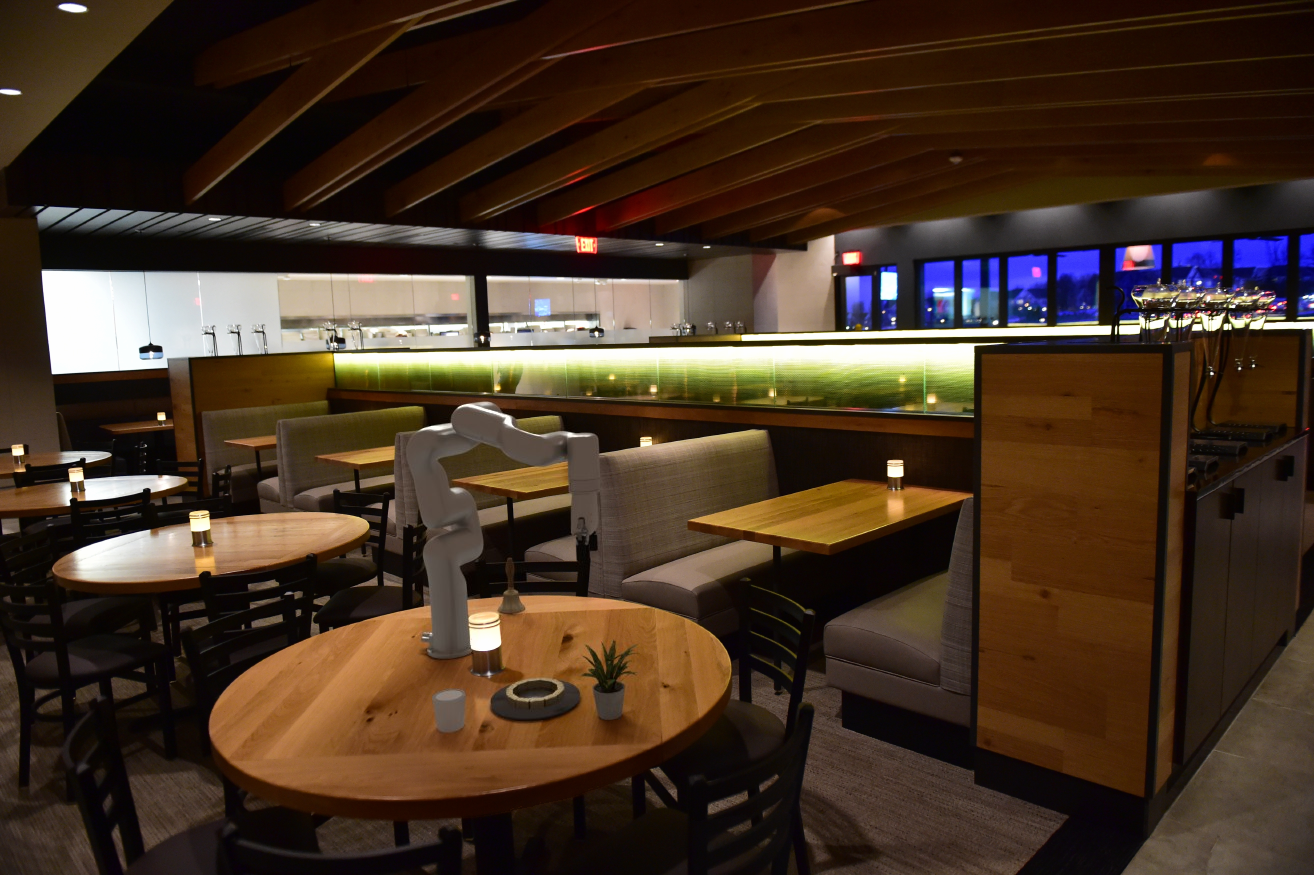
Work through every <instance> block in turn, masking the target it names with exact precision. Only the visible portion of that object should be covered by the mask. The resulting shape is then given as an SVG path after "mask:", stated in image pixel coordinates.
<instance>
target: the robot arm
mask: <svg viewBox="0 0 1314 875" xmlns="http://www.w3.org/2000/svg"><path fill="white" fill-rule="evenodd" d="M482 443H483V444H486V445H489V446H492V447H495V448H497V449H500V450H501V452H503V454H505V456H507V457H508V458H510V459H512V460H514V461H517V462H520V463H522V464H523V463H524V464H527V465H529V466H532V467H536V468H537V467H538V468H546V467H549V466H550V467H551V466H552V465H557V464H561V463H565V462H567V478H568V482H567V483H568V493H569V494H571V500H570V501H571V502H570V504H571V505H570V506H571V507H570V529H571V530H570V533H571V535H572V536H575V535H576V537H575V560H576V562H577V563H580V562H581V563H582V562H586V563H588V562H590V561H591V552H597V551H598V550H599V543H598V529H597V528H598V526H599V511H598V510H599V508H598V495H597V493H599V492H601V475H600V474H601V473H600V472H601V470H600V469H601V468H600V446H599V445H600V444H599V437H598V435H596V434H595V433H592V432H580V433H575V432H570V431H565V430H564V431H563V430H562V431H561V430H559V431H555V432H554V431H553V432H548V433H544V434H534V433H531V432H527V431H524V430H521V429H519V423H518V421H517V419H516V418H515V417H514V416H512V415H511V414H510V415H509V414H506V413H503V412H502V409H501V408H500V407H499V406H498V405H497V404H495V403H493V402H490V401H480V402H479V401H478V402H472V403H466V404H462V405H459V406H458V407H457V408H456V409H455V410H454V411H453V413H452V414H451V417H450V422H449V423H442V424H435V425H431V426H426V427H424V428H421V429H418V430H417V431H416V432H414V434H412V435H411V437H409V440H408V442H407V444H406V450H405V455H406V461H407V464H408V465H407V466H408V468H409V471H410V473H411V476H412V479H413V483H414V489H415V495H416V499H417V504H418V508H419V509H418V510H419V513H420V517H421V521H422V523H423V525H424V526H425V527H426V528H428V529H430V530H441V529H444V528H447V527H450V530H449V531H444V532H442V533H439V534H437V535H435V536H433V537H431V538H430V539H429V540H428V541H427V542H426V543H425V545H424V547H423V551H422V557H423V561H424V562H423V563H424V567H425V570H426V574H427V579H428V580H427V582H428V589H429V604H430V618H431V632H428V631H426V632H425V631H424V632H422V634H421V638H420V641H421V643H428V645H429V646H428V647H427V650H426V651H427V655H428V656H429V657H431V658H434V659H440V660H441V659H443V660H446V659H450V660H451V659H456V658H461V657H464V656H468V655H470V654H472V653H471V645H470V639H471V638H470V637H471V636H470V626H469V625H470V624H469V623H470V621H469V606H468V605H469V602H468V590H467V580H466V578H465V576H464V574H463V573H462V570H461V566H463V565H465V564H467V563H470V562H472V561H474V560H476V559H478V558H479V557H480V555H481V554H482V553H483V550H484V537H483V532H482V527H481V526H482V525H481V521H480V517H479V511H478V508H477V503H476V501H475V499H474V496H473V495H472V494H471V492H469V491H468V490H467V489H465V488H462V487H460V486H459V487H458V486H457V487H451V488H450V484H449V479H448V475H447V472H446V470H445V469H444V467H443V466H442V465H443V464H441V463H440V462H439V461H438V460H440V459H442V458H445V457H451V456H457V455H462V454H464V453H467V452H469V451H470V450H472V449H473V448H475V447H477V446H478V445H479V444H482Z"/></svg>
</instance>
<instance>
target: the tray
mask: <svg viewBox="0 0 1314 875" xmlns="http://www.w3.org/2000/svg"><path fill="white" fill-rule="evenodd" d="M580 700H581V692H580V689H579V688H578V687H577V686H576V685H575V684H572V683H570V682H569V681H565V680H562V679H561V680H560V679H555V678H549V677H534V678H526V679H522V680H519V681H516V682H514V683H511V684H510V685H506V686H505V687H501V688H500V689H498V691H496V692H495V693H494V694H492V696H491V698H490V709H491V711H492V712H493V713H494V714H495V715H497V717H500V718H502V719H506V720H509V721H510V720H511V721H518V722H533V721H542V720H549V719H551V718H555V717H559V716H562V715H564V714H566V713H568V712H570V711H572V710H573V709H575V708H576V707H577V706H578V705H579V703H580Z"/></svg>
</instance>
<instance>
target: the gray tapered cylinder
mask: <svg viewBox="0 0 1314 875" xmlns="http://www.w3.org/2000/svg"><path fill="white" fill-rule="evenodd" d="M466 695H467V694H466V692H465V691H464V690H462V689H459V688H449V689H443V690H441V691H438V692H436V693H435V694H434V695H432V697H431V698H432V699H431V700H432V704H433V710H434V717H435V723H436V729H437V731H438V732H441V733H445V734H446V733H455V732H457V731H460V730H462V729H463V728H464V727H465V719H466V718H465V716H466V715H465V714H466Z"/></svg>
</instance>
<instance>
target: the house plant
mask: <svg viewBox="0 0 1314 875" xmlns="http://www.w3.org/2000/svg"><path fill="white" fill-rule="evenodd" d="M616 644H617V642H616V639H612V643H611V645H610V647H609V650H607V649H606V646H605V645H604V642H602V641H601V646H602V649H603V654H602V656H603V657H604V662H605V663H604V664H605V667H606V668H604V665H603V662H602V661H601V659H600V658H599V656H598V654H597V652H596V651H595V650H593V649H592V647H590V646H589V645H587V644H584V646H585V647H586V649H587V650H588V652H589V653H590V654H589V655H590V656H591V658H592V660H593V661H592V660H591V659H590V658H588V657H587V656H585V655H582V658H583V659H585V660H587V662H588V663H589V664H591V665H592V667H593V668H592V667H591V668H588V672H585V673H582V674H581V675H580V676H579V677H585V678H586V677H589V678H595V679H596V680H597V682H596V683H595V684H594V685H593V686H592V693H593V697H594V702H595V708H596V711H597V717H599V718H600V719H601V720H606V721H610V720H611V721H613V720H616V719H619V718H621V716H622V715H623V708H624V699H625V693H626V692H625V691H626V685H625V683H624V682H622V681H623V680H624V679H625V677H623V678H622V679H621V680H620V681H618V678H620V677H621V676H623V675H626V674H627V675H626V677H628V676H629V675H635V676H637V675H636V674H638V672H637V671H636V672H635V671H631V670H629V671H628V670H627V669H628V668H630V666H628V665H627V664H628V663H631V662H632V661H633V660H632V659H630V660H627V661H624V660H626V659H625V658H627V657H629V656H632V655H639V654H641V653H639V652H633V651H634V648H635V647H637V646H638V645H639V643H637V644H633V645H632V646H630V647H629V648H627V649H626V650H625V651H624V652H623V653H620V654H618V655H616V653H617V651H616ZM617 659H618V660H617ZM615 660H617V662H615ZM625 670H627V671H625ZM637 678H638V677H637Z"/></svg>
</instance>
